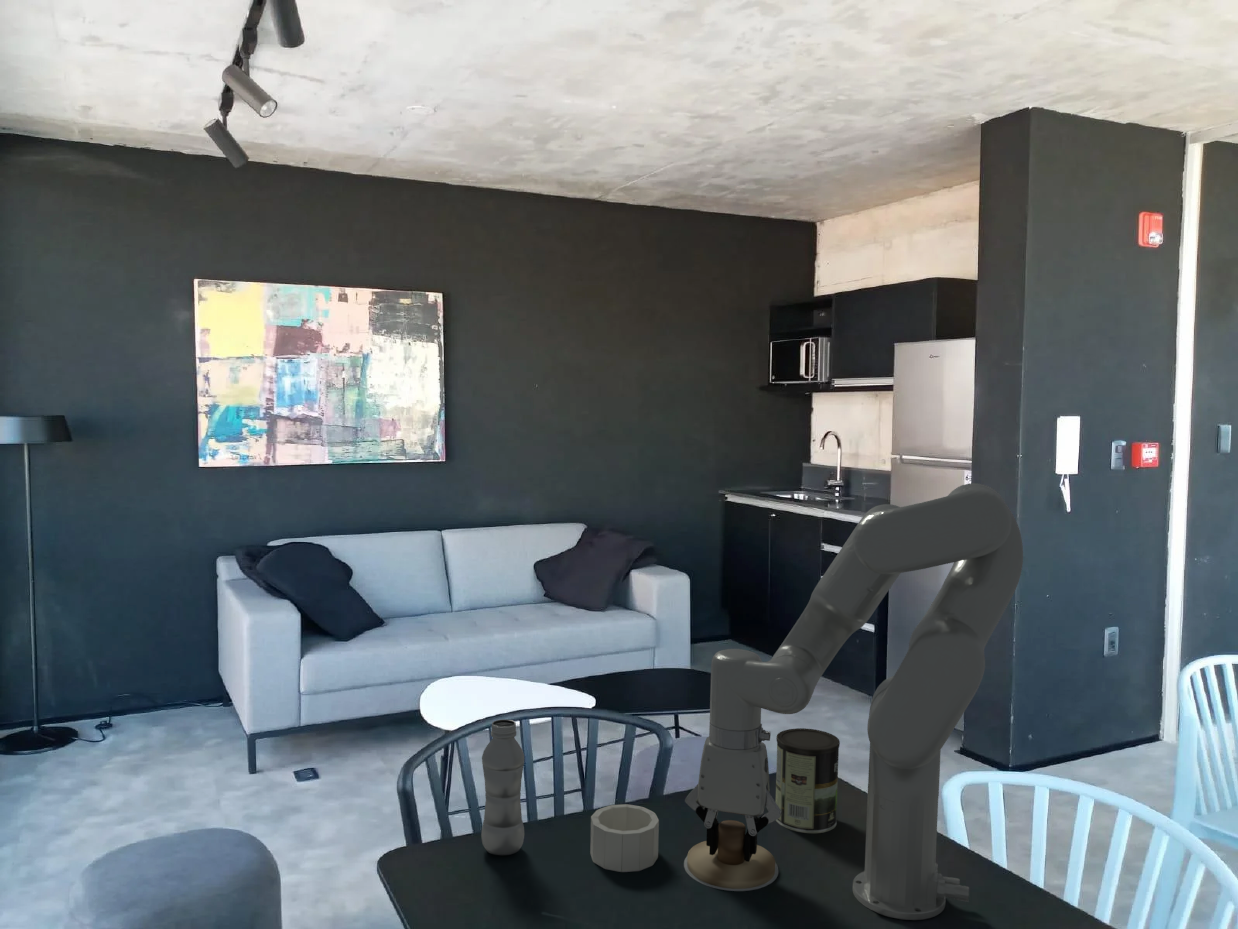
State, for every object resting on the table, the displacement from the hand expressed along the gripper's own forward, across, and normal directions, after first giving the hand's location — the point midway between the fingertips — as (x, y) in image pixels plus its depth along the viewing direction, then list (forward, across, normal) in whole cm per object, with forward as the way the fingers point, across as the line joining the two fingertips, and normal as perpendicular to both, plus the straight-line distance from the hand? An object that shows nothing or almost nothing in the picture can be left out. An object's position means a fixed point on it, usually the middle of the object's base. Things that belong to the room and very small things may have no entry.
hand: (731, 853), depth 142 cm
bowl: (+2, +16, +2) cm, 16 cm away
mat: (+2, 0, 0) cm, 2 cm away
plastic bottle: (+3, +34, +8) cm, 35 cm away
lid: (+2, 0, 0) cm, 2 cm away
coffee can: (+3, -8, -20) cm, 22 cm away
